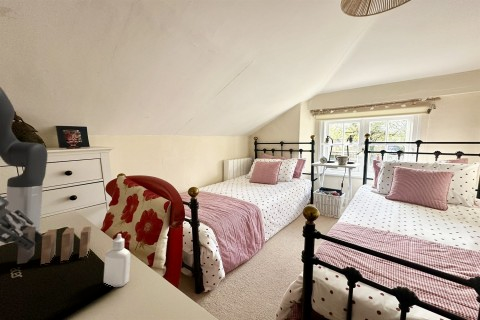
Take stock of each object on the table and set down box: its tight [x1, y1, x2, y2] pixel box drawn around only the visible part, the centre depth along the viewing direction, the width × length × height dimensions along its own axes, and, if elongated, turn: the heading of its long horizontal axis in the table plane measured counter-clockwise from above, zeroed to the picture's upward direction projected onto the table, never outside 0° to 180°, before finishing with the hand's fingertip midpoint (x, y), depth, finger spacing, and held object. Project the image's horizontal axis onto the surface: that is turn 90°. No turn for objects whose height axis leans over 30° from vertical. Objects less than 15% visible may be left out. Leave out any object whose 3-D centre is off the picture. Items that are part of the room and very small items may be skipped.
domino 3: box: [78, 226, 92, 259], centre depth 64 cm, size 2×5×8 cm, turn 28°
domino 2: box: [60, 227, 75, 262], centre depth 62 cm, size 2×5×8 cm, turn 28°
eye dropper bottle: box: [103, 233, 131, 288], centre depth 52 cm, size 4×6×12 cm
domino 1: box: [40, 228, 57, 265], centre depth 60 cm, size 2×5×8 cm, turn 28°
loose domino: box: [16, 227, 36, 265], centre depth 57 cm, size 2×5×8 cm, turn 28°
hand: (36, 242), depth 58 cm, fingers closed on loose domino, 5 cm apart
